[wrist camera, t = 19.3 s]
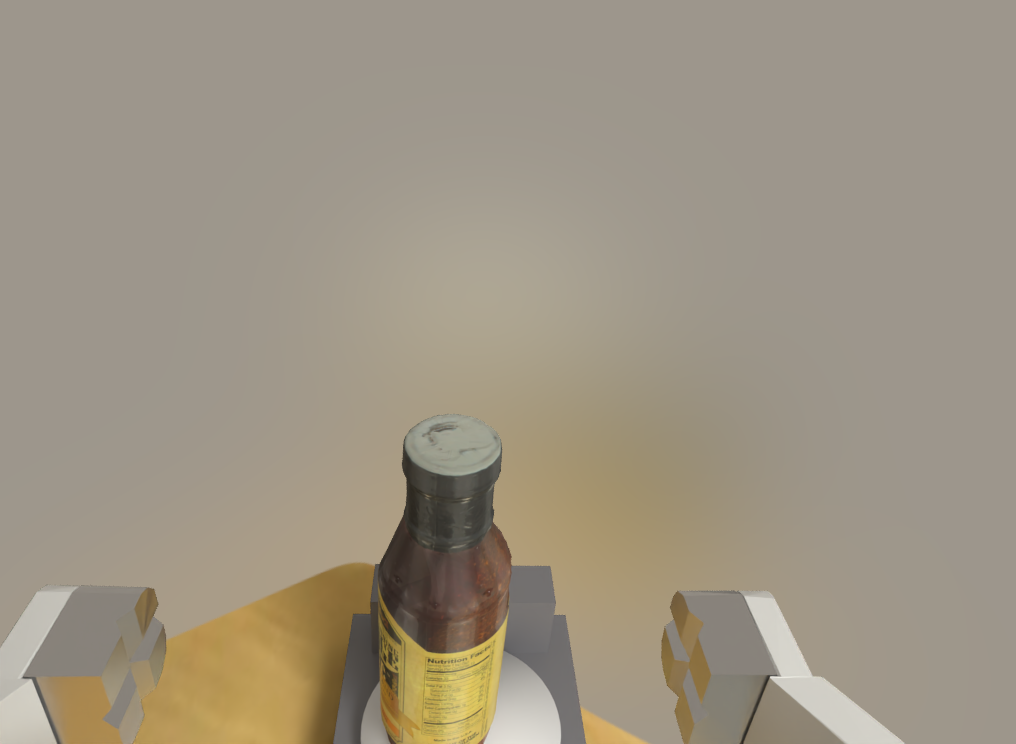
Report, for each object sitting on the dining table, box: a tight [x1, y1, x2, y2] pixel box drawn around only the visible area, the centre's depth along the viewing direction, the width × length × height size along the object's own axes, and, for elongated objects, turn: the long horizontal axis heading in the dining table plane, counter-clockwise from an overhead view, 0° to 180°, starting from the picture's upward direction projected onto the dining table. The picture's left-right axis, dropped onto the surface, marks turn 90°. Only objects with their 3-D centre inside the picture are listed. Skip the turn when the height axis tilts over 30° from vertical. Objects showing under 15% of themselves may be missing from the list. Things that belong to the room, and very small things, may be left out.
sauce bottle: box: [378, 414, 512, 744], centre depth 35 cm, size 6×6×20 cm
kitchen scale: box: [333, 564, 586, 744], centre depth 42 cm, size 14×14×8 cm
